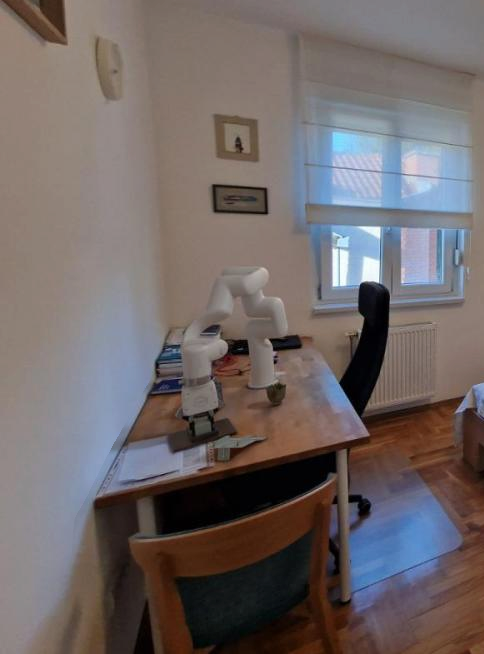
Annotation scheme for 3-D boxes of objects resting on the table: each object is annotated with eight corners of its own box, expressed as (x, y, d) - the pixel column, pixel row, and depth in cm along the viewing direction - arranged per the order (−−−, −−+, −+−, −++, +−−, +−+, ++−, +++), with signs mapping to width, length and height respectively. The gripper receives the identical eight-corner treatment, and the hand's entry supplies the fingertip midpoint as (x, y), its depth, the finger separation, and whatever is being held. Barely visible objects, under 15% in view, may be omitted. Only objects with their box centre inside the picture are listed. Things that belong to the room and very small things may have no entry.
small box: (208, 405, 171) (205, 381, 169) (224, 405, 171) (222, 381, 170) (191, 417, 160) (188, 392, 159) (209, 417, 161) (206, 391, 159)
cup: (291, 402, 174) (290, 384, 173) (275, 409, 168) (274, 391, 166) (279, 399, 177) (278, 381, 176) (263, 406, 171) (261, 387, 169)
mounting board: (228, 420, 159) (227, 414, 158) (236, 433, 149) (236, 427, 148) (168, 436, 146) (167, 430, 146) (173, 453, 136) (173, 446, 136)
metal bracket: (247, 441, 133) (198, 443, 131) (245, 460, 132) (196, 462, 131) (268, 431, 147) (224, 432, 146) (267, 448, 146) (222, 450, 145)
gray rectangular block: (208, 424, 151) (207, 415, 151) (211, 432, 146) (210, 422, 146) (192, 428, 148) (191, 419, 148) (195, 436, 143) (195, 427, 143)
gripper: (168, 390, 136) (173, 441, 138) (228, 377, 147) (232, 424, 150) (165, 383, 141) (171, 433, 144) (223, 371, 153) (227, 417, 155)
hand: (202, 428), depth 147 cm, fingers closed on gray rectangular block, 4 cm apart
